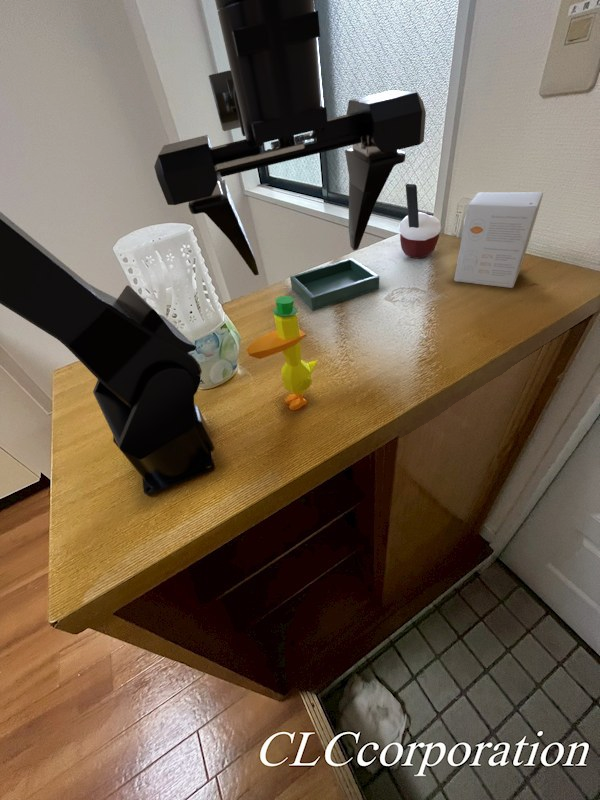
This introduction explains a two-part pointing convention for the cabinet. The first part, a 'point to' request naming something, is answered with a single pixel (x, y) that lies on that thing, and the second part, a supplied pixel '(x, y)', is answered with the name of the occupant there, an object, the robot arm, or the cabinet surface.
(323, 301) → the tray
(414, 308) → the cabinet surface
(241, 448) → the cabinet surface
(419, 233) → the red dessert cup
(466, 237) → the small box
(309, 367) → the toy figure
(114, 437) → the robot arm
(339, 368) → the cabinet surface
